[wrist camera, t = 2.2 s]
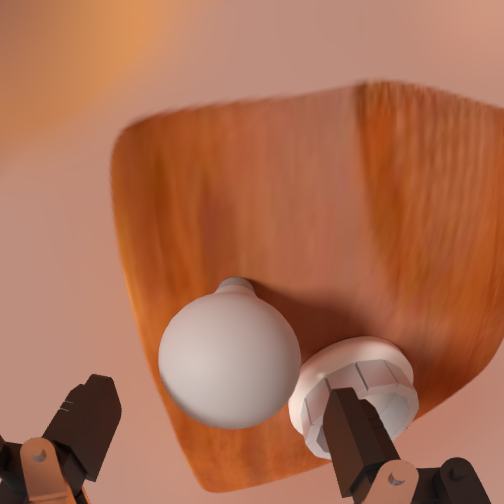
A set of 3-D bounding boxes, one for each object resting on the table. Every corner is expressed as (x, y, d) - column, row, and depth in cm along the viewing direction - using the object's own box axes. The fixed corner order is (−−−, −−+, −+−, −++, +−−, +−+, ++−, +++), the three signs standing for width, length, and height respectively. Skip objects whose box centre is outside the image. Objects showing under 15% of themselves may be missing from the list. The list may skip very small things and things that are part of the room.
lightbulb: (291, 315, 20) (324, 438, 10) (209, 337, 21) (185, 461, 10) (266, 234, 18) (291, 319, 8) (178, 261, 19) (110, 360, 8)
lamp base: (391, 312, 20) (421, 346, 15) (411, 393, 23) (431, 425, 18) (265, 373, 22) (269, 418, 17) (312, 439, 24) (320, 477, 19)
